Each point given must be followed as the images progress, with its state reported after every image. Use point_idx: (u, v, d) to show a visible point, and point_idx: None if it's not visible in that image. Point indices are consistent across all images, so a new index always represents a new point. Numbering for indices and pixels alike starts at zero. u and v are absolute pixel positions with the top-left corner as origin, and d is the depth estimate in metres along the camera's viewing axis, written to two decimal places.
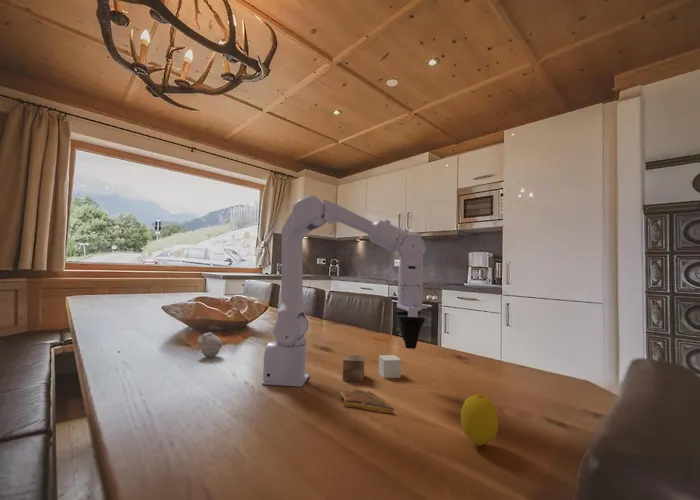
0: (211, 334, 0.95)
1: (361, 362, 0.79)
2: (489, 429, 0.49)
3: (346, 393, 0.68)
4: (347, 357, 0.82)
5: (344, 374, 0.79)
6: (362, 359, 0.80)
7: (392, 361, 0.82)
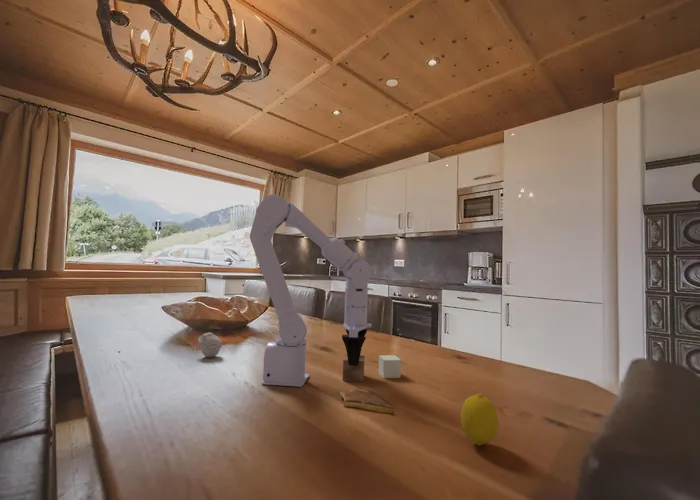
0: (211, 334, 0.95)
1: (361, 362, 0.79)
2: (489, 429, 0.49)
3: (346, 393, 0.68)
4: (347, 357, 0.82)
5: (344, 374, 0.79)
6: (362, 359, 0.80)
7: (392, 361, 0.82)
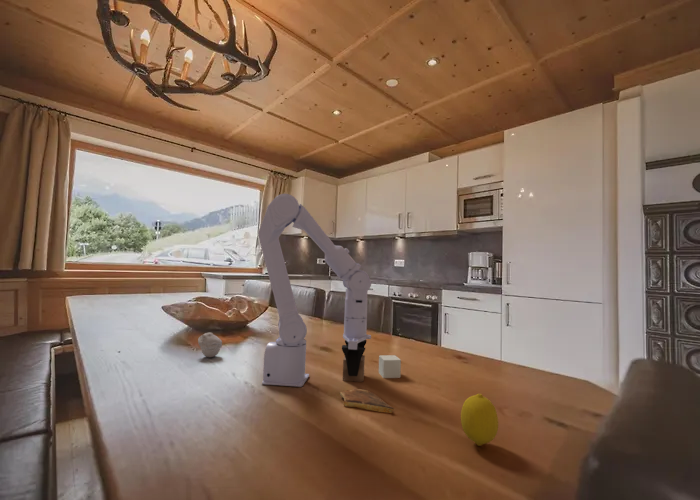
0: (211, 334, 0.95)
1: (361, 362, 0.79)
2: (489, 429, 0.49)
3: (346, 393, 0.68)
4: None
5: (344, 374, 0.79)
6: (362, 359, 0.80)
7: (392, 361, 0.82)
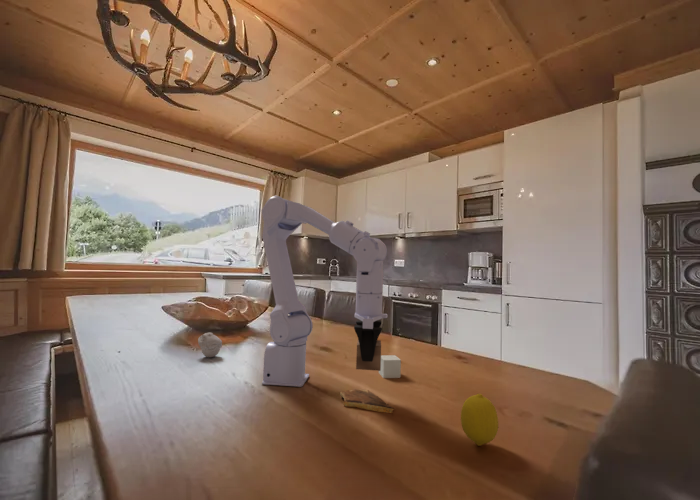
0: (211, 334, 0.95)
1: (378, 347, 0.67)
2: (489, 429, 0.49)
3: (346, 393, 0.68)
4: None
5: (358, 361, 0.67)
6: (379, 344, 0.68)
7: (392, 361, 0.82)
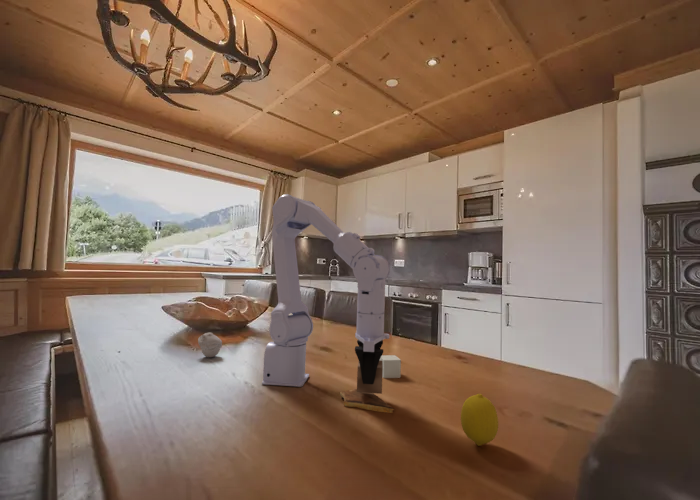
0: (211, 334, 0.95)
1: (379, 369, 0.65)
2: (489, 429, 0.49)
3: (346, 393, 0.68)
4: None
5: (359, 384, 0.65)
6: (380, 365, 0.66)
7: (392, 361, 0.82)
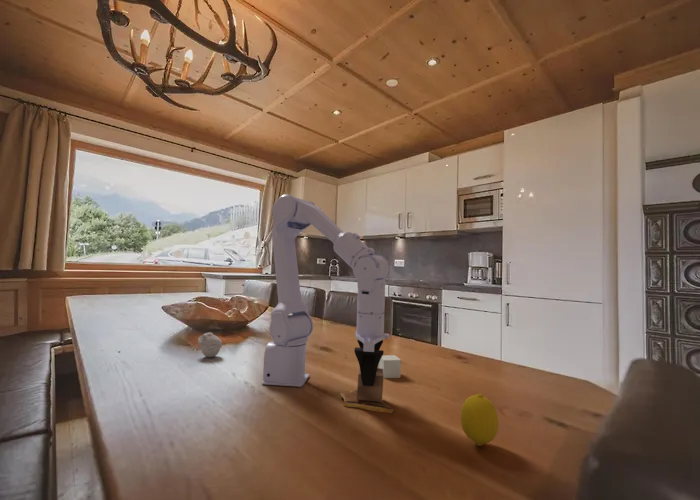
0: (211, 334, 0.95)
1: (380, 377, 0.64)
2: (489, 429, 0.49)
3: (346, 393, 0.68)
4: None
5: (359, 391, 0.64)
6: (381, 373, 0.66)
7: (392, 361, 0.82)
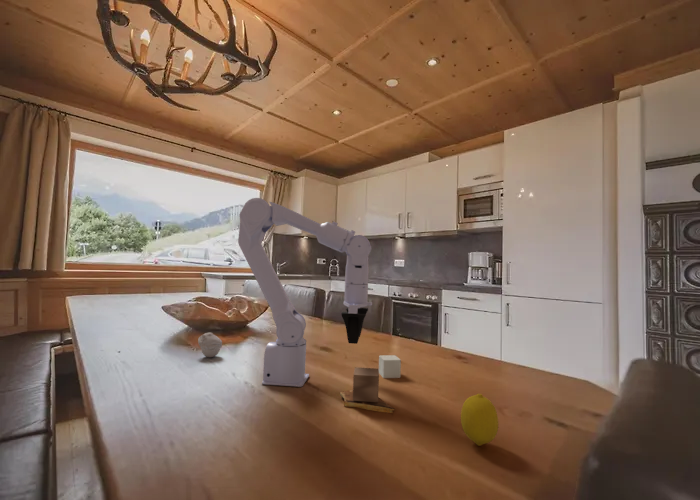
0: (211, 334, 0.95)
1: (376, 377, 0.64)
2: (489, 429, 0.49)
3: (347, 393, 0.68)
4: (358, 371, 0.67)
5: (355, 392, 0.64)
6: (376, 373, 0.65)
7: (392, 361, 0.82)
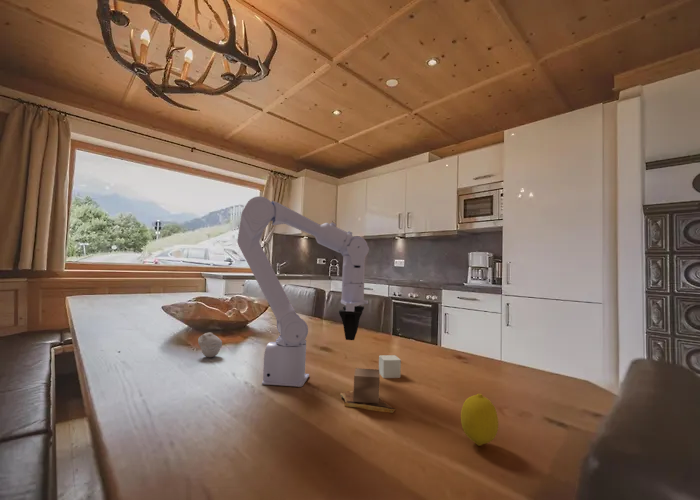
0: (211, 334, 0.95)
1: (376, 379, 0.64)
2: (489, 429, 0.49)
3: (347, 394, 0.68)
4: (358, 372, 0.67)
5: (355, 393, 0.64)
6: (377, 374, 0.65)
7: (392, 361, 0.82)
